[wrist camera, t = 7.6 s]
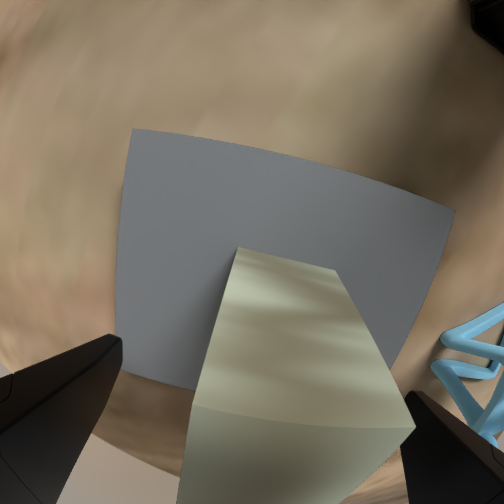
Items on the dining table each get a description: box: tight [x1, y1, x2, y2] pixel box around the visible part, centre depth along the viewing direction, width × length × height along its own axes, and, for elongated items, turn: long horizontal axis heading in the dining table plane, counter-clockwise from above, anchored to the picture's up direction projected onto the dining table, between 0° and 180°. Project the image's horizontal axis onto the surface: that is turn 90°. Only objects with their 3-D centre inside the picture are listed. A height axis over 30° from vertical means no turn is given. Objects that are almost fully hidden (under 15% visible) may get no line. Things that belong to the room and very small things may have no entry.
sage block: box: [176, 247, 416, 504], centre depth 9 cm, size 4×5×8 cm
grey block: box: [115, 129, 456, 391], centre depth 14 cm, size 14×12×4 cm
